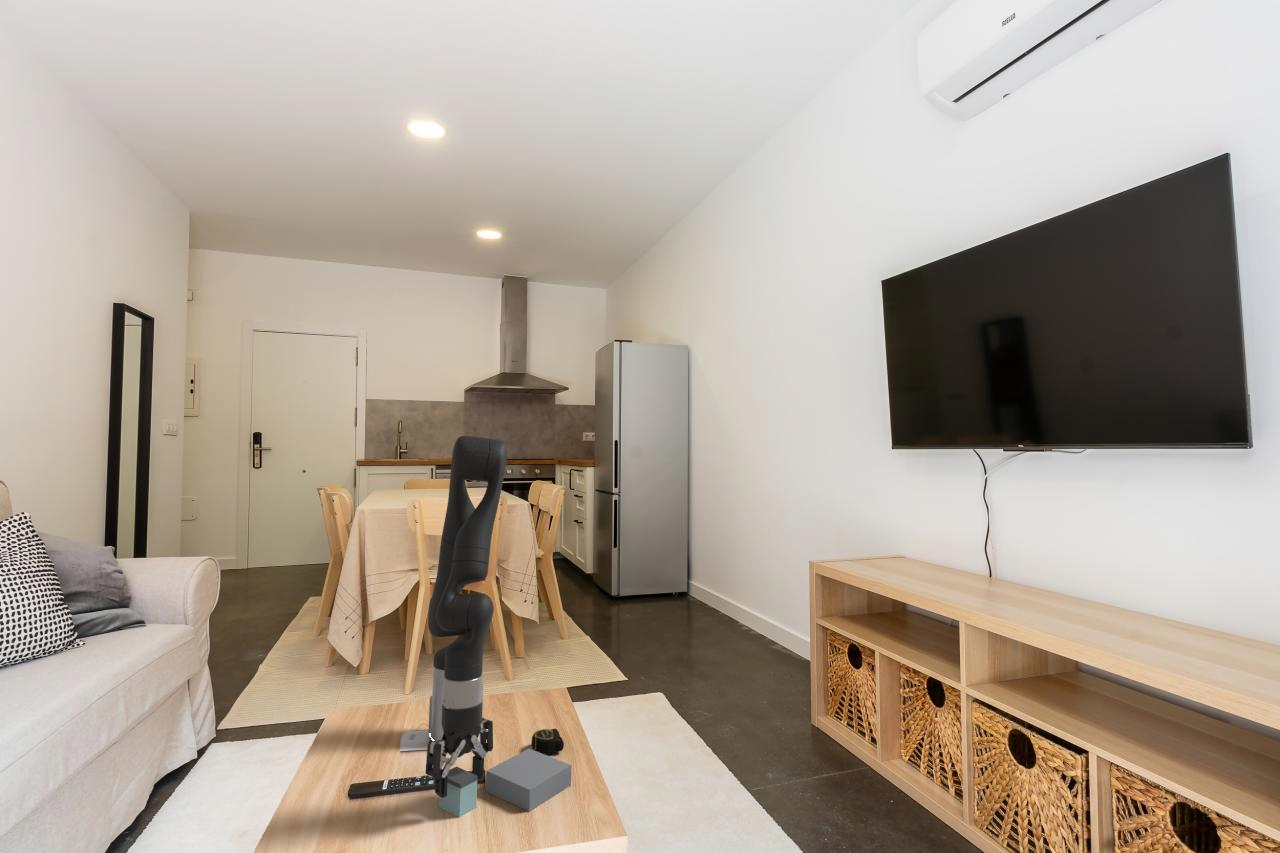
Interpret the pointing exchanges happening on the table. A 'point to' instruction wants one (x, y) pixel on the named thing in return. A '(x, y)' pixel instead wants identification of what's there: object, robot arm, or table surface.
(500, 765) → the stand
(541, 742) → the tape measure
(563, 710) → the table surface
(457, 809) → the block
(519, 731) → the table surface
